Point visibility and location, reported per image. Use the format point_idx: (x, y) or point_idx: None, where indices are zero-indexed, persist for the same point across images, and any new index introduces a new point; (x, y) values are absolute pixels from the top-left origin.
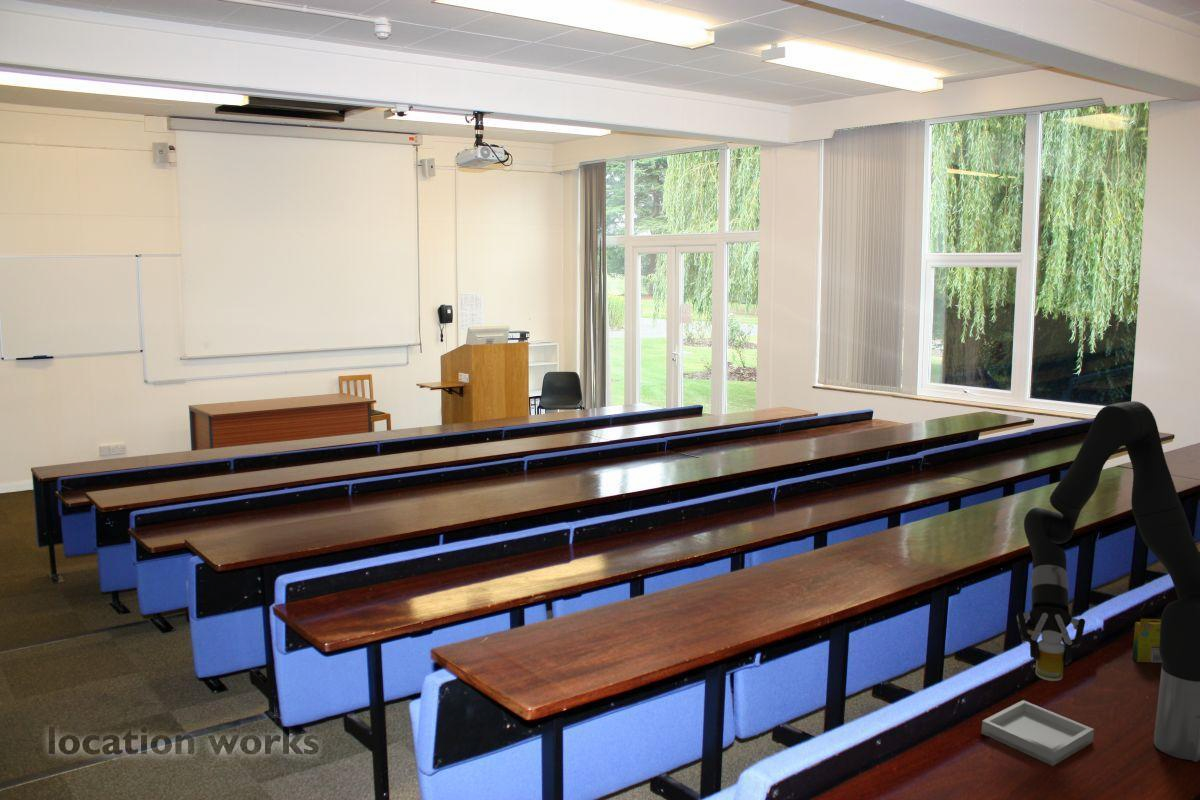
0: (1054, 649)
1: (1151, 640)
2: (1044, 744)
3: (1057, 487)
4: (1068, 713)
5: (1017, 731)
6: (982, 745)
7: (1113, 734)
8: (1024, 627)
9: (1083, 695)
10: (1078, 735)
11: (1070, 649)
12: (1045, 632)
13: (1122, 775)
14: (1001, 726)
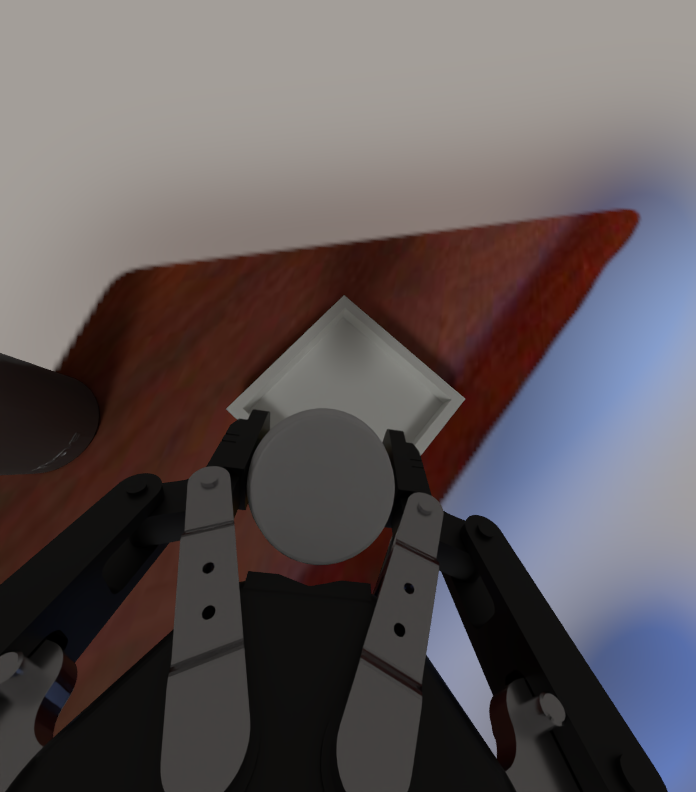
0: (321, 410)
1: None
2: (344, 364)
3: None
4: (244, 550)
5: (387, 407)
6: (452, 359)
7: (173, 461)
8: (509, 583)
9: None
10: (273, 371)
11: (218, 459)
12: (368, 506)
13: (223, 299)
14: (416, 422)
